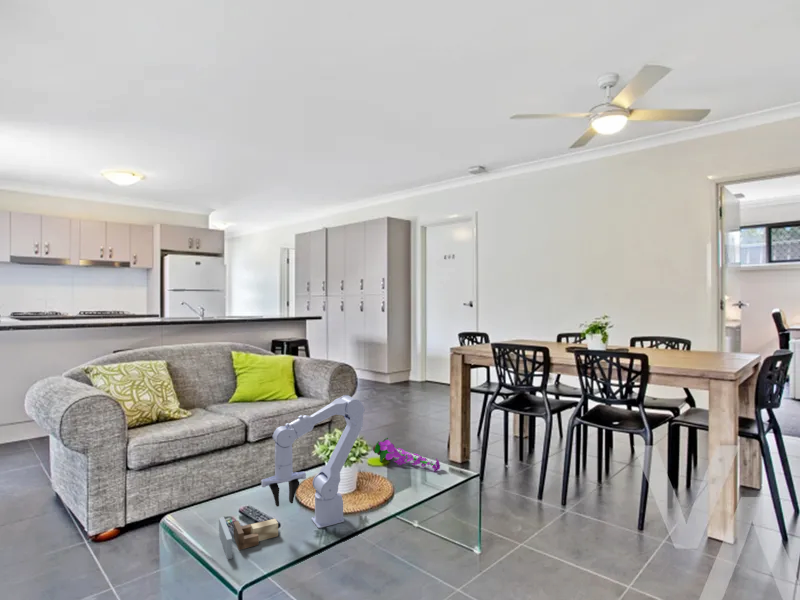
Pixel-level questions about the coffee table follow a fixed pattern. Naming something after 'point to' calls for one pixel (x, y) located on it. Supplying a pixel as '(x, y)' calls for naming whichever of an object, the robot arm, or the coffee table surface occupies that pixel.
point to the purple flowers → (400, 455)
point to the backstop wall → (225, 538)
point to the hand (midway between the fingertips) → (284, 503)
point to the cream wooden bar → (265, 529)
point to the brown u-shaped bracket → (244, 536)
